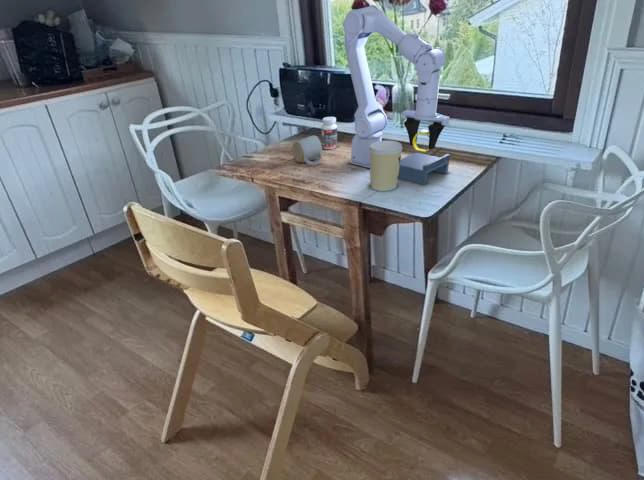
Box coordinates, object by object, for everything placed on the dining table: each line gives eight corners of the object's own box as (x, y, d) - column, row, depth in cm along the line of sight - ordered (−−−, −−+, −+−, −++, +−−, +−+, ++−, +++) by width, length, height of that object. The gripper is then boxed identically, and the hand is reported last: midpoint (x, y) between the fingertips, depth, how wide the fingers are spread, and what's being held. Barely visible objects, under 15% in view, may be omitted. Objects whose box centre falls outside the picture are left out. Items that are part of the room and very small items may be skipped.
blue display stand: (391, 175, 161) (392, 158, 158) (415, 164, 167) (416, 147, 163) (424, 184, 153) (426, 166, 150) (447, 172, 159) (450, 154, 156)
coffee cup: (405, 187, 153) (408, 146, 145) (376, 194, 151) (378, 152, 144) (390, 177, 160) (392, 138, 152) (362, 183, 158) (363, 143, 151)
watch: (410, 151, 157) (412, 130, 153) (414, 148, 158) (416, 128, 154) (429, 153, 153) (431, 133, 150) (433, 151, 155) (435, 130, 151)
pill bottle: (326, 150, 186) (325, 121, 180) (318, 146, 190) (318, 118, 184) (340, 147, 187) (340, 118, 181) (332, 143, 191) (332, 115, 185)
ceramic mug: (291, 160, 181) (290, 138, 176) (311, 154, 183) (310, 132, 178) (307, 168, 173) (307, 145, 168) (327, 163, 176) (327, 140, 171)
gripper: (458, 97, 144) (451, 147, 152) (414, 91, 153) (410, 138, 161) (443, 103, 140) (437, 153, 149) (399, 97, 150) (396, 145, 158)
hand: (422, 146), depth 155 cm, fingers closed on watch, 6 cm apart
